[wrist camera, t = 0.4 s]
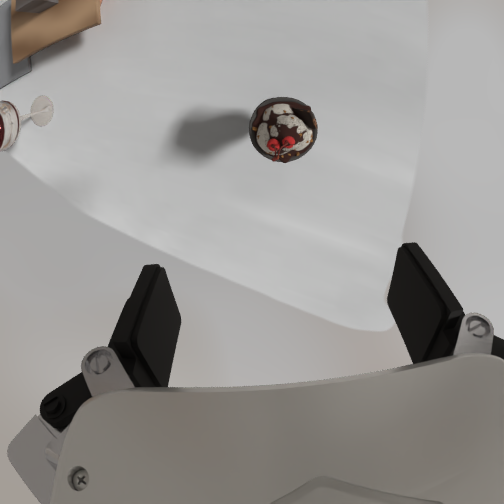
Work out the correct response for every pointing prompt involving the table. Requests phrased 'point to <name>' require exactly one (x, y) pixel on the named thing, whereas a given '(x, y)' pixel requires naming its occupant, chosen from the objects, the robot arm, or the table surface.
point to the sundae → (283, 129)
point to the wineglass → (9, 120)
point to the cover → (48, 23)
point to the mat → (9, 50)
